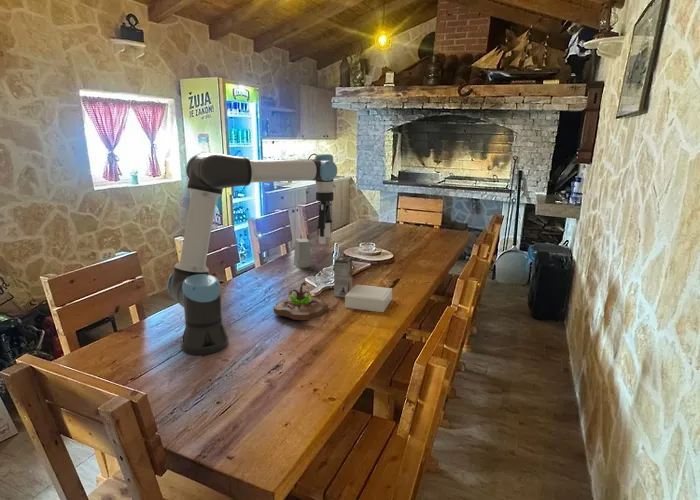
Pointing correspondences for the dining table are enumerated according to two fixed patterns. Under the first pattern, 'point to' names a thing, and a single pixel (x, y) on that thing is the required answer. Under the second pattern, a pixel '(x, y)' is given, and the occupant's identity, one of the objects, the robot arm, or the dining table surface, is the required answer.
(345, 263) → the coffee box
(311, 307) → the plant
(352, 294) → the riser
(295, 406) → the dining table surface
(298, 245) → the skincare box
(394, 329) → the dining table surface
